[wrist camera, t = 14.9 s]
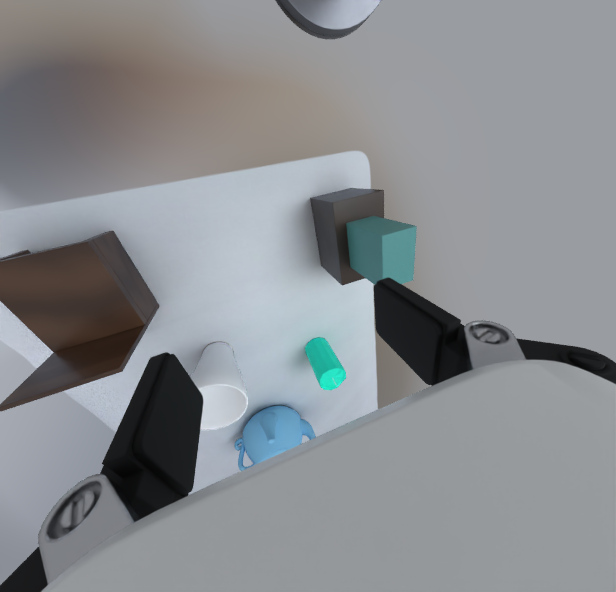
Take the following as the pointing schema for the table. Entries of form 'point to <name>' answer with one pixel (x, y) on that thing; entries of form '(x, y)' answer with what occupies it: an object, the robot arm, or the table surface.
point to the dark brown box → (342, 226)
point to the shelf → (76, 311)
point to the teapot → (272, 434)
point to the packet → (382, 249)
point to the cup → (220, 387)
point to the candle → (325, 364)
